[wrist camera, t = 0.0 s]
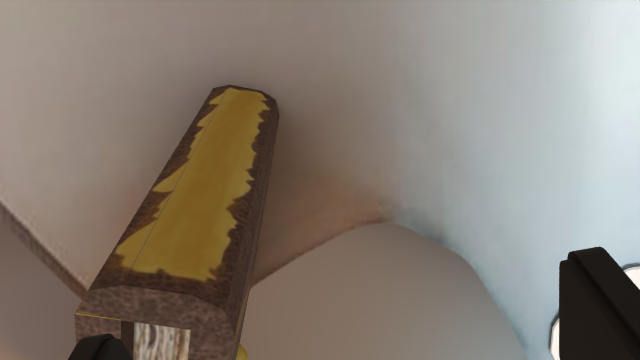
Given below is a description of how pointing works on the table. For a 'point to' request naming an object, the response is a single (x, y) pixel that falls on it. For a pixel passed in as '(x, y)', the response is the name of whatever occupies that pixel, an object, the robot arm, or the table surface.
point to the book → (191, 240)
